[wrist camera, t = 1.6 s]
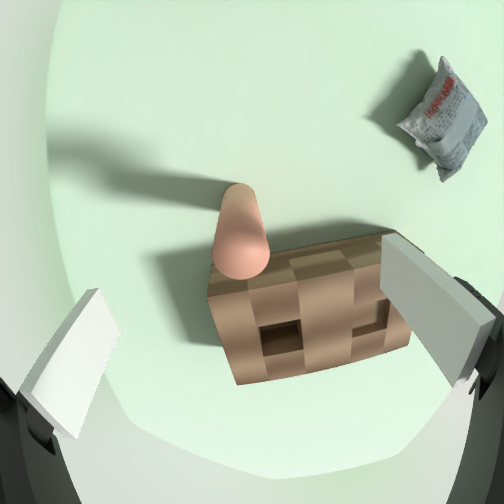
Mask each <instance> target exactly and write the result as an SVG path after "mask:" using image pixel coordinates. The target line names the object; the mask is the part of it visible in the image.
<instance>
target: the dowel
mask: <svg viewBox="0 0 504 504" xmlns="http://www.w3.org/2000/svg"><path fill="white" fill-rule="evenodd" d="M269 257H270V250H269V245H268V242H267V238H266V234H265V230H264V227H263V223H262V219H261V215H260V212H259V208H258V204H257V201H256V197H255V194H254V192H253V190H252V189H251V188H250V187H249V186H247V185H245V184H241V183H237V184H233V185H231V186H230V187H228V188H227V189H226V191H225V192H224V195H223V199H222V204H221V209H220V213H219V218H218V223H217V228H216V233H215V238H214V243H213V248H212V259H213V262H214V264H215V266H216V268H217V269H218V270H219V271H220V272H221V273H222V274H224V275H225V276H227V277H229V278H232V279H238V280H243V279H249V278H252V277H254V276H256V275H258V274H259V273H260V272H262V271H263V269H264V268H265V267H266V265H267V263H268V261H269Z"/></svg>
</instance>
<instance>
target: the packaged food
mask: <svg viewBox="0 0 504 504" xmlns="http://www.w3.org/2000/svg"><path fill="white" fill-rule="evenodd" d="M487 123H488V121H487V118H486V117H485V115H484V113H483V111H482V109H481V107H480V105H479V103H478V102H477V101H476V99H475V98H474V97H473V95H472V94H471V92H470V91H469V90H468V89H467V88H466V86H465V85H464V84H463V82H462V81H461V80H460V79H459V78H458V77H457V75H456V74H455V73H454V71H453V69H452V68H451V66H450V64H449V62H448V61H447V59H446V58H445V57H444V56H441V57H440V61H439V66H438V71H437V72H436V75H435V77H434V79H433V81H432V83H431V85H430V87H429V89H428V91H427V92H426V94H425V95H424V97H423V100H422V102H421V103H419V104H418V105H417V106H416V107H415V108H414V109H413V110H412V111H411V112H410V114H409V115H408V116H407V117H406V119H404V120H403V121H402V122H400V123H398V124H397V126H398V127H400V128H401V129H403V130H404V131H406V132H407V133H409V134H410V135H411V136H412V137H414V138H415V139H416V140H417V141H416V143H415V144H416V146H418V147H420V148H422V149H423V150H424V151H425V152H426V153H427V154H428V155H429V156H430V157H431V158H432V159H433V160H434V161H433V162H434V163H435V164H436V165H437V170H438V174H440V175H439V176H440V180H441V182H444V181H446V180H447V179H448V178H450V177H451V176H452V175H454V174H455V173H456V172H457V171H459V170H460V169H461V167H462V165H463V163H464V161H465V159H466V157H467V155H468V153H469V151H470V149H471V147H472V146H473V145H474V143H475V141H476V140H477V138H478V137H479V135H480V133H481V132H482V130H483V129H484V127H485V126H486V124H487Z"/></svg>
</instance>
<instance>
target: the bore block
mask: <svg viewBox="0 0 504 504" xmlns="http://www.w3.org/2000/svg"><path fill="white" fill-rule="evenodd" d="M392 233H397V234H398V235H400V236H401V237H402V238H404V239H405V240H406V241H408V242H409V243H410V244H412V245H413V246H414V247H416V248H417V249H418V250H420V249H419V248H418V247H417V246H415V245H414V244H413V243H411V242H410V241H409V240H408V239H406V238H405V237H404V236H402V235H401V234H400V233H398V232H397V231H396V230H392V231H387V232H382V233H376V234H371V235H366V236H361V237H355V238H350V239H345V240H340V241H334V242H329V243H324V244H318V245H313V246H308V247H302V248H297V249H291V250H286V251H281V252H275V253H270V257H269V261H268V263H267V265H266V267H265V268H264V269H263V271H262V272H260V273H259V274H258V275H256V276H254V277H252V278H249V279H243V280H238V279H232V278H229V277H227V276H225V275H224V274H222V273H221V272H220V271H219V270H218V269H217V268H216V266H215V264H212V266H211V272H210V278H209V284H208V290H207V296H206V298H207V301H208V304H209V307H210V310H211V313H212V316H213V319H214V322H215V325H216V328H217V331H218V334H219V337H220V340H221V343H222V346H223V348H224V351H225V354H226V357H227V360H228V362H229V365H230V368H231V371H232V373H233V376H234V379H235V381H236V384H237V385H244V384H251V383H258V382H265V381H271V380H277V379H283V378H288V377H293V376H298V375H303V374H308V373H313V372H317V371H322V370H326V369H330V368H334V367H338V366H342V365H346V364H350V363H353V362H357V361H360V360H364V359H367V358H371V357H374V356H377V355H381V354H384V353H387V352H390V351H393V350H396V349H399V348H402V347H405V346H407V345H408V344H409V340H410V336H411V331H412V329H411V328H410V326H409V325H408V324H407V322H406V321H405V320H404V318H403V317H402V316H401V314H400V313H399V312H398V310H397V309H396V308H395V307H394V305H393V304H392V303H391V301H390V300H389V299H388V298H387V296H386V295H385V294H384V293H383V291H382V290H381V289H380V277H381V253H382V235H387V234H392ZM420 251H421V252H422V253H423V254H425V253H424V252H423V251H422V250H420Z"/></svg>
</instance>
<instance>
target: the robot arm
mask: <svg viewBox="0 0 504 504" xmlns="http://www.w3.org/2000/svg"><path fill="white" fill-rule="evenodd" d="M380 289H381V290H382V291H383V293H384V294H385V295H386V296H387V298H388V299H389V300H390V301H391V303H392V304H393V305H394V307H395V308H396V309H397V310H398V312H399V313H400V314H401V316H402V317H403V318H404V320H405V321H406V322H407V324H408V325H409V326H410V328H411V329H412V330H413V332H414V333H415V334H416V336H417V337H418V338H419V340H420V341H421V342H422V344H423V345H424V347H425V348H426V349H427V351H428V352H429V354H430V355H431V357H432V358H433V359H434V361H435V362H436V364H437V365H438V367H439V368H440V370H441V371H442V373H443V374H444V376H445V377H446V379H447V380H448V382H449V383H450V385H451V386H452V388H454V387H456V386H458V385H460V384H461V383H463V382H465V381H467V380H468V379H469V378H470V376H471V374H472V372H473V370H474V368H475V369H476V370H477V371H478V373H479V374H478V376H477V378H476V380H475V382H474V383H473V385H472V387H471V389H470V391H469V394H471V393H472V392H473V390H474V388H475V395H474V402H473V408H472V414H471V420H470V425H469V430H468V435H467V440H466V444H465V448H464V452H463V455H462V459H461V463H460V466H459V469H458V473H457V476H456V479H455V482H454V485H453V487H452V490H451V493H450V495H449V498H448V501H447V503H446V504H504V315H503V314H502V313H501V312H500V311H499V310H498V309H497V308H496V307H495V306H494V305H492V304H491V303H490V302H489V301H488V300H487V299H486V298H485V297H484V296H483V297H482V295H481V294H480V293H479V292H478V291H477V290H476V291H475V288H474V287H472V286H471V285H470V284H469V283H468V282H466V281H464V280H462V279H460V278H458V277H452V276H450V275H449V274H448V273H447V272H446V271H444V270H443V269H442V268H441V267H440V266H438V265H437V264H436V263H435V262H434V261H432V260H431V259H430V258H429V257H427V256H426V255H425V254H423V253H422V252H421V251H420V250H418V249H417V248H416V247H414V246H413V245H412V244H410V243H409V242H408V241H406V240H405V239H404V238H402V237H401V236H400V235H398V234H397V233H392V234H387V235H382V253H381V277H380ZM120 335H121V331H120V329H119V327H118V325H117V323H116V322H115V320H114V318H113V316H112V314H111V312H110V310H109V308H108V306H107V303H106V301H105V299H104V297H103V295H102V293H101V291H100V288H95V289H90V290H87V291H86V292H85V294H84V295H83V296H82V297H81V299H80V300H79V301H78V303H77V304H76V305H75V307H74V308H73V309H72V311H71V312H70V313H69V315H68V316H67V317H66V319H65V320H64V321H63V323H62V324H61V326H60V327H59V328H58V330H57V331H56V333H55V334H54V335H53V337H52V338H51V340H50V341H49V343H48V344H47V346H46V348H45V349H44V350H43V352H42V353H41V355H40V356H39V358H38V359H37V361H36V363H35V364H34V366H33V367H32V369H31V371H30V372H29V374H28V375H27V377H26V379H25V380H24V382H23V384H22V385H21V387H20V389H19V391H18V392H17V394H16V395H15V394H14V393H13V392H12V390H11V389H10V388H9V387H8V386H7V384H6V383H5V382H4V381H3V379H1V377H0V504H82V503H81V501H80V499H79V497H78V495H77V492H76V490H75V488H74V485H73V483H72V480H71V478H70V475H69V473H68V470H67V467H66V464H65V461H64V459H63V456H62V453H61V449H60V446H59V443H58V440H57V438H56V436H55V435H54V434H53V430H54V428H55V429H56V430H57V431H58V432H59V433H60V434H61V435H63V437H67V438H71V439H76V440H77V439H78V436H79V433H80V430H81V428H82V425H83V422H84V419H85V417H86V414H87V411H88V409H89V406H90V404H91V401H92V399H93V396H94V393H95V391H96V389H97V386H98V384H99V382H100V379H101V377H102V374H103V372H104V370H105V368H106V365H107V363H108V361H109V359H110V357H111V354H112V352H113V350H114V348H115V346H116V343H117V341H118V339H119V337H120Z"/></svg>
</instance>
